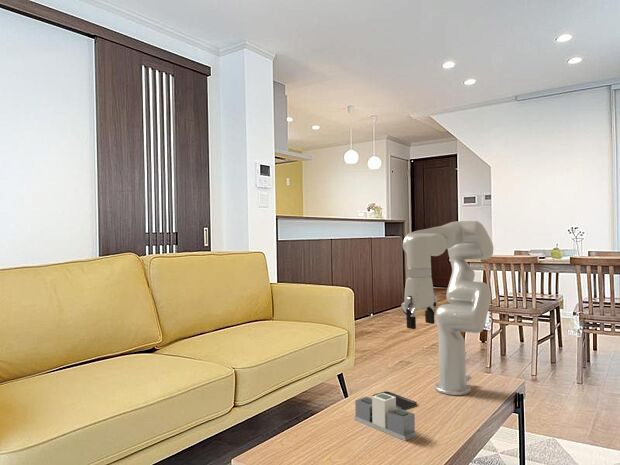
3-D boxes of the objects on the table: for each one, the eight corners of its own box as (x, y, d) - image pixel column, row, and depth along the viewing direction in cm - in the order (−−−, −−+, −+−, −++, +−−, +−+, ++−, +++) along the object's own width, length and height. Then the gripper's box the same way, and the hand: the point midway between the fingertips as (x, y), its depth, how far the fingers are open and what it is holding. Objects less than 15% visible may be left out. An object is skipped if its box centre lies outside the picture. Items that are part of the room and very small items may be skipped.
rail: (365, 415, 149) (365, 395, 149) (416, 435, 134) (415, 413, 134) (354, 419, 146) (354, 399, 146) (405, 441, 131) (404, 418, 131)
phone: (386, 390, 170) (418, 402, 158) (386, 394, 170) (418, 406, 158) (370, 395, 165) (402, 408, 153) (370, 398, 165) (402, 411, 153)
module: (383, 418, 143) (383, 392, 143) (396, 423, 140) (395, 396, 140) (372, 423, 140) (372, 395, 140) (384, 428, 136) (384, 400, 136)
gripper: (426, 269, 158) (427, 319, 159) (392, 275, 148) (394, 328, 148) (444, 271, 153) (446, 322, 153) (411, 277, 142) (413, 332, 142)
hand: (420, 325), depth 151 cm, fingers open, 9 cm apart
